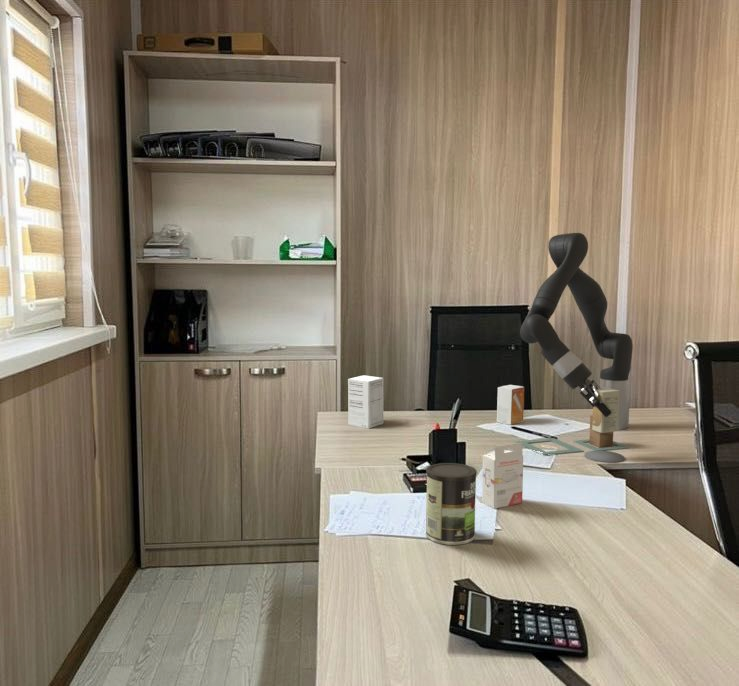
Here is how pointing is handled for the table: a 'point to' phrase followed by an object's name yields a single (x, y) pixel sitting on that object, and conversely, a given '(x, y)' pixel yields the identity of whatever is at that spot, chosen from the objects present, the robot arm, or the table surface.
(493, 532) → the table surface
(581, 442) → the frame
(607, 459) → the felt coaster
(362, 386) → the supplement box
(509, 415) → the small box
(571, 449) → the frame
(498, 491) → the ink cartridge box
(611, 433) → the walnut block
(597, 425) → the skincare box
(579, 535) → the table surface
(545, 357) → the robot arm
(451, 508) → the coffee can
